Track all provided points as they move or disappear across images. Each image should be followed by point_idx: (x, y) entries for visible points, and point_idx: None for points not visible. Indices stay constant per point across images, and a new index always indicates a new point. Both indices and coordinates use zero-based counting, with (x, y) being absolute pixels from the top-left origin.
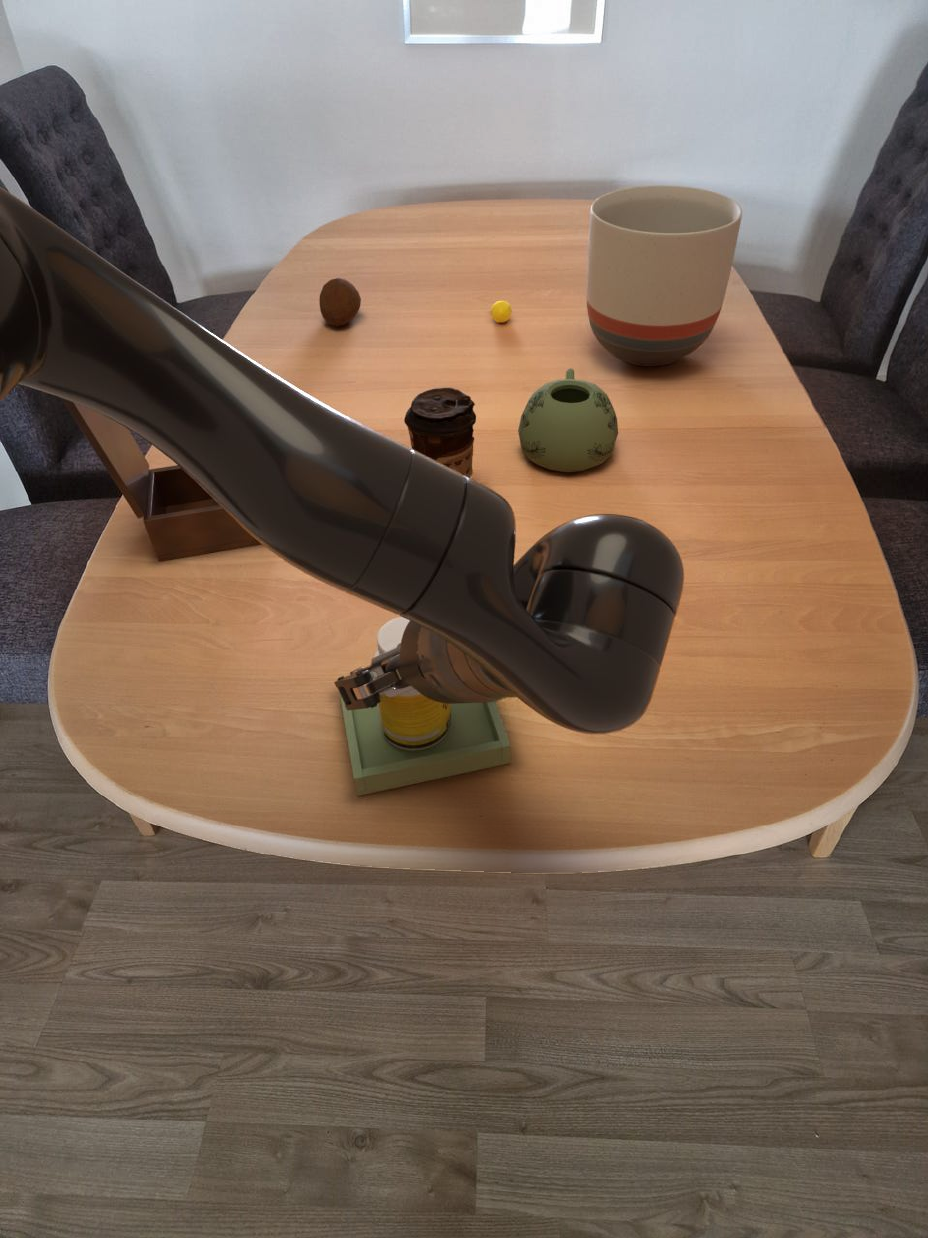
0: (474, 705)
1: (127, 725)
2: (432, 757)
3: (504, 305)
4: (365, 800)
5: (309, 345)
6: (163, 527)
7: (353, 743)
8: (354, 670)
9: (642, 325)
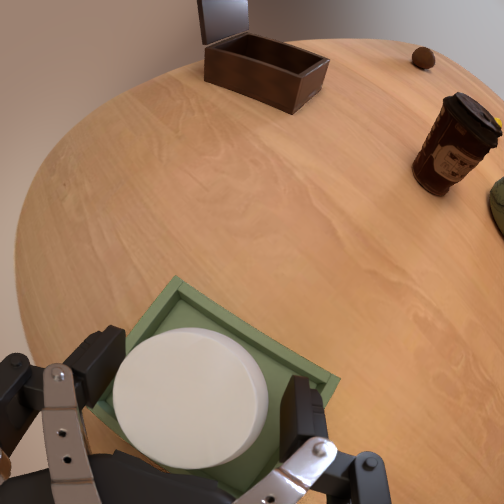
0: (279, 426)
1: (61, 174)
2: None
3: (500, 122)
4: None
5: (397, 60)
6: (214, 58)
7: None
8: (109, 332)
9: None
